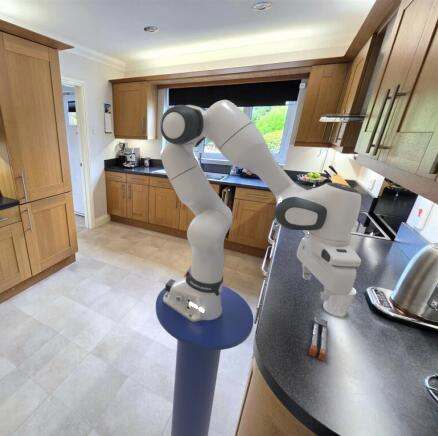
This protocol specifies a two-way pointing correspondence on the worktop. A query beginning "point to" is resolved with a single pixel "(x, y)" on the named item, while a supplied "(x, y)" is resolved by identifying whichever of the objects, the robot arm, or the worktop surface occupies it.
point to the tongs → (322, 327)
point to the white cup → (339, 303)
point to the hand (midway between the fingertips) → (314, 288)
